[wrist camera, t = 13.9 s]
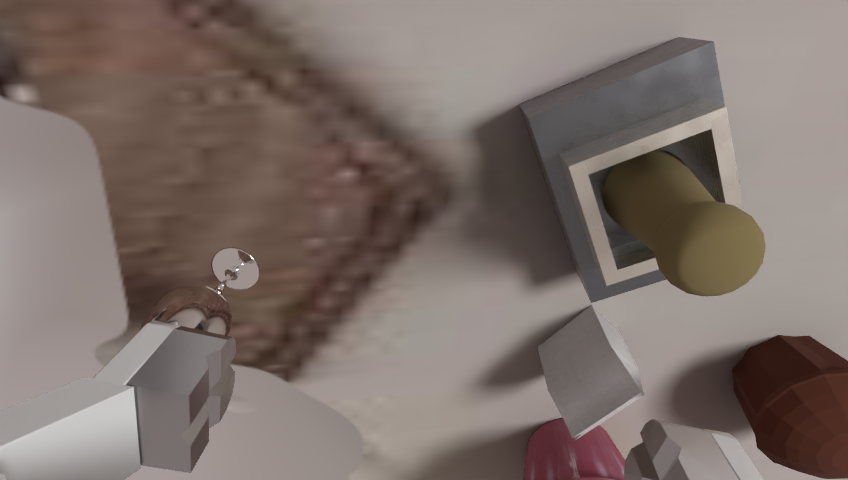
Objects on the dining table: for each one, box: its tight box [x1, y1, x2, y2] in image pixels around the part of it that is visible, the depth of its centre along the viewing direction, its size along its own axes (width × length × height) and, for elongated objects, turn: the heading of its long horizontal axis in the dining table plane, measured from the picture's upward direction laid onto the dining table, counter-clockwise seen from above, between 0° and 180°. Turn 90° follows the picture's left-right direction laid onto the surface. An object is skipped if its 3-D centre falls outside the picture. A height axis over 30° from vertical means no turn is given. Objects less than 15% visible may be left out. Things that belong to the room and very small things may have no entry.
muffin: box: [732, 335, 848, 479], centre depth 42 cm, size 12×11×10 cm
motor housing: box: [519, 37, 744, 303], centre depth 35 cm, size 16×12×8 cm
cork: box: [602, 149, 765, 296], centre depth 29 cm, size 6×6×11 cm
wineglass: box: [139, 248, 260, 336], centre depth 40 cm, size 6×6×12 cm
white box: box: [538, 305, 644, 440], centre depth 42 cm, size 4×7×10 cm, turn 139°
